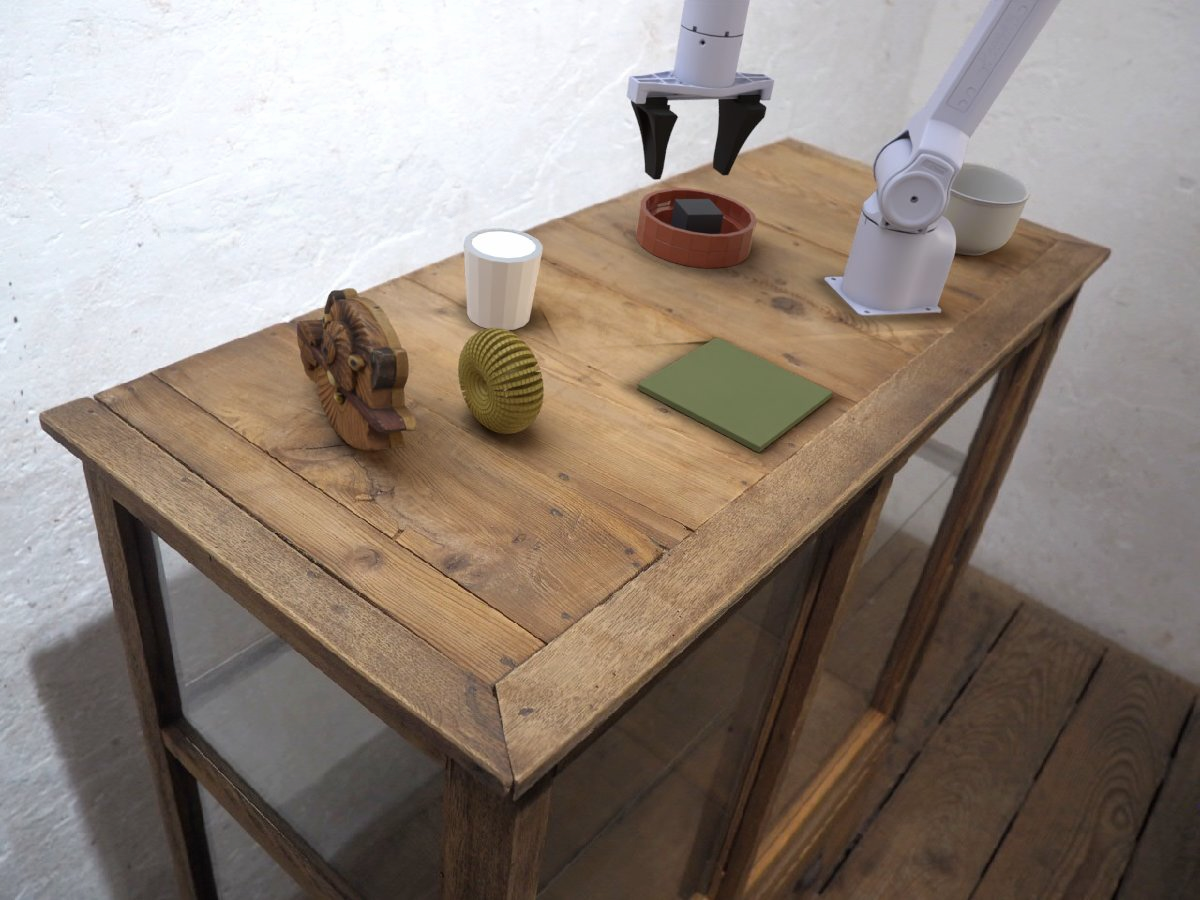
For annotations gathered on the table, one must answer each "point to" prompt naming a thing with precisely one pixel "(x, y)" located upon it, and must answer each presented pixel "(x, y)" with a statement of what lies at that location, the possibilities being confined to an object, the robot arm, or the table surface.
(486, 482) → the table surface
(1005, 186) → the teacup
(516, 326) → the white cylinder
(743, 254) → the bowl
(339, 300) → the wooden carving
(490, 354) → the sculpture
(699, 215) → the block
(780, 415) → the pad
